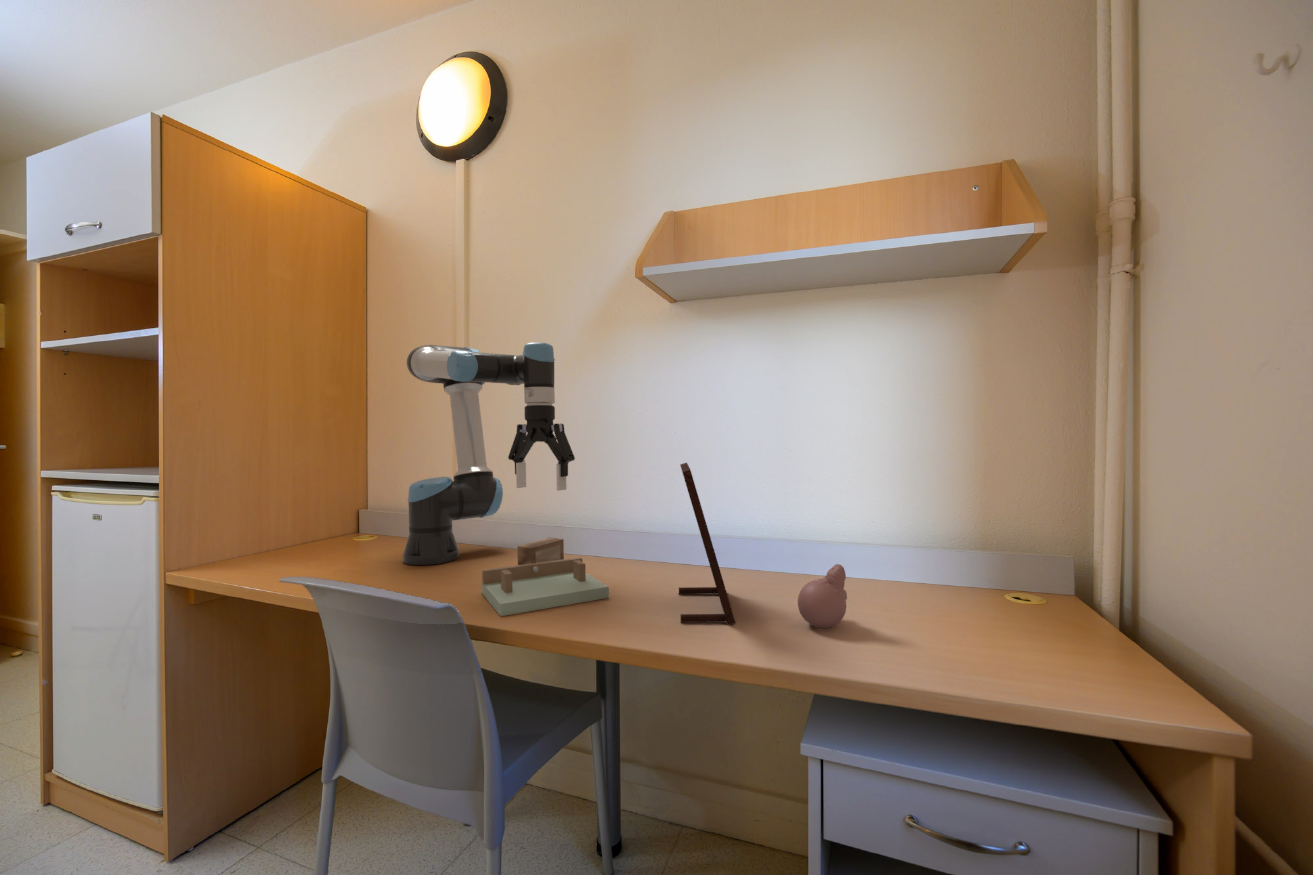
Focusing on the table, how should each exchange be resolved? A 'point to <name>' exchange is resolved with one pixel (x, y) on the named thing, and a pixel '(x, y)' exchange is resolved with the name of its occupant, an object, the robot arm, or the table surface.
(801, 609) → the figurine
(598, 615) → the table surface
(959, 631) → the table surface
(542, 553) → the walnut frame
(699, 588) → the black easel stand
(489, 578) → the green assembly board
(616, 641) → the table surface
